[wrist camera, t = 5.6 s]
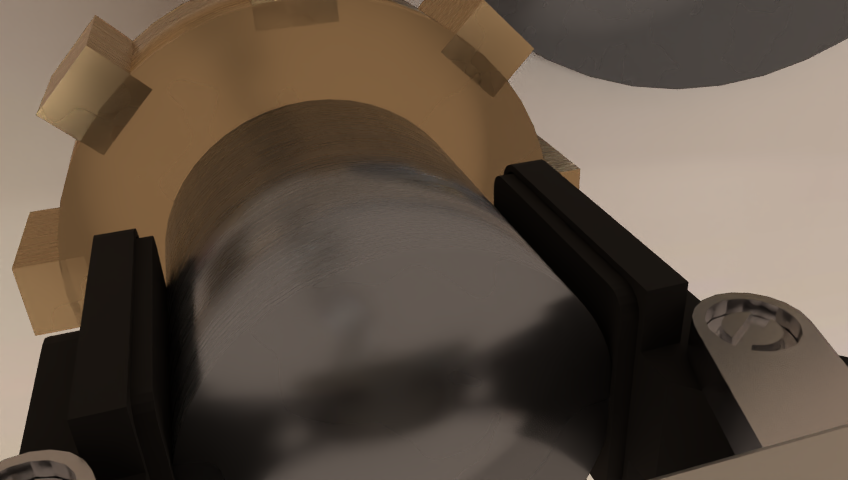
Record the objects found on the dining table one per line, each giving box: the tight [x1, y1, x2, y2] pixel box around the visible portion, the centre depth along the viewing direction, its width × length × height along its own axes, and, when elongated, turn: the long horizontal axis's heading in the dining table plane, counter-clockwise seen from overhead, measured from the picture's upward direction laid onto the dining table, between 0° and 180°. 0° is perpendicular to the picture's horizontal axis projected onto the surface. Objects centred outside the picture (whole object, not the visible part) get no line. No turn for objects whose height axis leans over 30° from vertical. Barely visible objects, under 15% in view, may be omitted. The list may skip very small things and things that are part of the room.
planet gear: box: [12, 0, 612, 480], centre depth 12 cm, size 9×9×7 cm
